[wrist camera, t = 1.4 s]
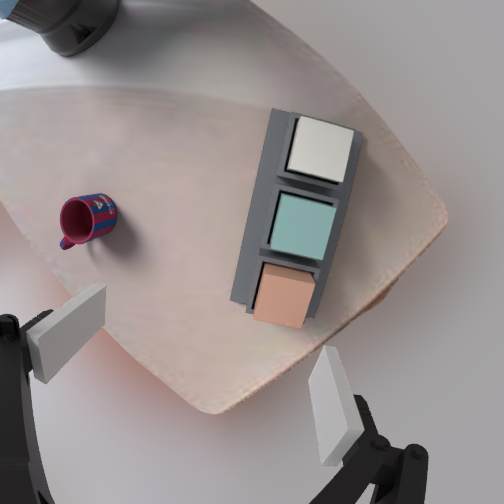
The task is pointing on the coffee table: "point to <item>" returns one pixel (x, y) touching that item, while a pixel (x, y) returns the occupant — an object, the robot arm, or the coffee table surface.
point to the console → (266, 203)
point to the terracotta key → (283, 295)
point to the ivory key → (320, 149)
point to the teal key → (302, 226)
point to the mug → (86, 219)
